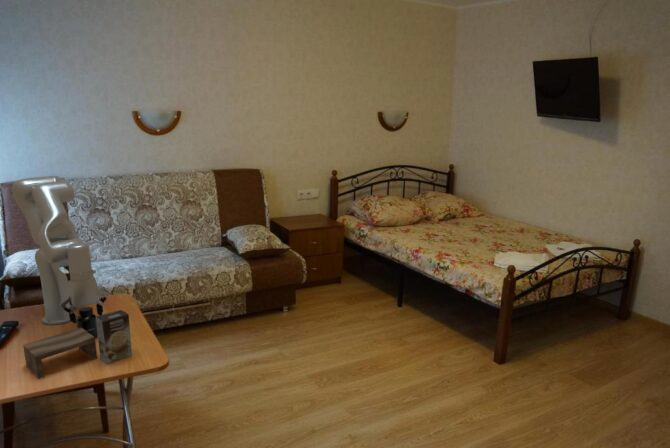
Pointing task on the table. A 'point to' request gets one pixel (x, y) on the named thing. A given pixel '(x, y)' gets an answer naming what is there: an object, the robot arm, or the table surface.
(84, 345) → the walnut shelf
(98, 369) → the table surface
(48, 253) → the robot arm
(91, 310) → the supplement bottle
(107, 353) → the coffee box
